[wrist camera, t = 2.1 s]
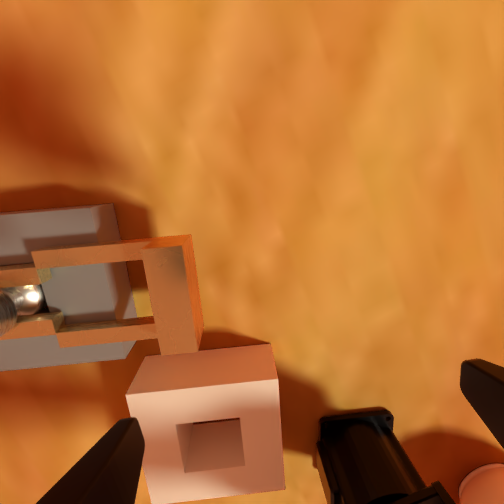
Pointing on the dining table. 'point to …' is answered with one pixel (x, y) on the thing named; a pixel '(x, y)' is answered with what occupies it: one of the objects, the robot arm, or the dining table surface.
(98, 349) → the socket block
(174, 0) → the dining table surface
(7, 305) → the steel pin
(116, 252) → the brass guide bars
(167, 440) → the square hole block
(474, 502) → the lidded jar
